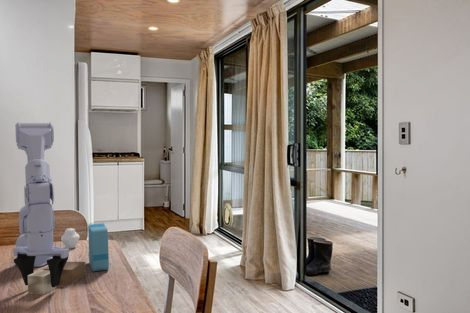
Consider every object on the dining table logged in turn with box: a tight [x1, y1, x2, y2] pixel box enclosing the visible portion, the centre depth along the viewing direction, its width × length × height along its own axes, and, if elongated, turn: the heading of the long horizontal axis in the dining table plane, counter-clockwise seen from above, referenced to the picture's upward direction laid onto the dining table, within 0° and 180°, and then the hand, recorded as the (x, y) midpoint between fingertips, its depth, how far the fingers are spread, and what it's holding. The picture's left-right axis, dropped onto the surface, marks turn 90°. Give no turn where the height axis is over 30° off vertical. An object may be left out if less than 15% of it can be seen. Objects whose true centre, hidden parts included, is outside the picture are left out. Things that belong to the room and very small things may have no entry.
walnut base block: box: [42, 261, 86, 285], centre depth 111 cm, size 8×7×4 cm
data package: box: [87, 222, 110, 272], centre depth 122 cm, size 12×4×12 cm, turn 24°
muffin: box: [60, 227, 81, 249], centre depth 146 cm, size 6×6×7 cm
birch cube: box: [27, 269, 57, 295], centre depth 102 cm, size 4×4×4 cm
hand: (42, 284), depth 102 cm, fingers open, 7 cm apart
